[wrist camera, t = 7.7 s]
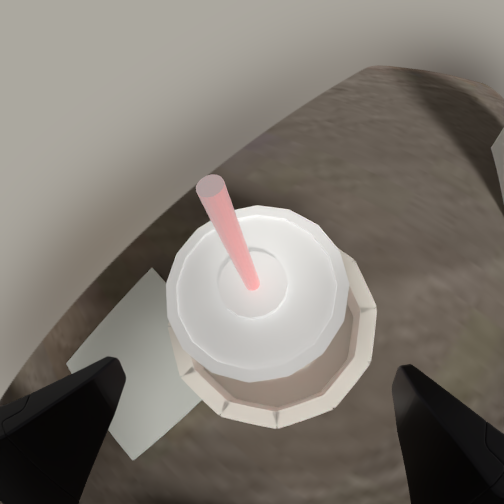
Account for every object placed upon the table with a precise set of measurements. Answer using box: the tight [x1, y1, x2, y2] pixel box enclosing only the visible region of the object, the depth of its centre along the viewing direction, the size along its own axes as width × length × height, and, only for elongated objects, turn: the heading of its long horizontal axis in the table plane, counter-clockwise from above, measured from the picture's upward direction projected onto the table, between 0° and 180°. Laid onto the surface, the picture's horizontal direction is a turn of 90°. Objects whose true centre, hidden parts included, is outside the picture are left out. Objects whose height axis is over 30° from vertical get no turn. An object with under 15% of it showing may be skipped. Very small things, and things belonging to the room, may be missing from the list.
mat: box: [66, 268, 202, 460], centre depth 18 cm, size 12×10×1 cm
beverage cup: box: [166, 174, 349, 383], centre depth 11 cm, size 6×6×14 cm
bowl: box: [168, 249, 377, 429], centre depth 16 cm, size 12×12×3 cm
